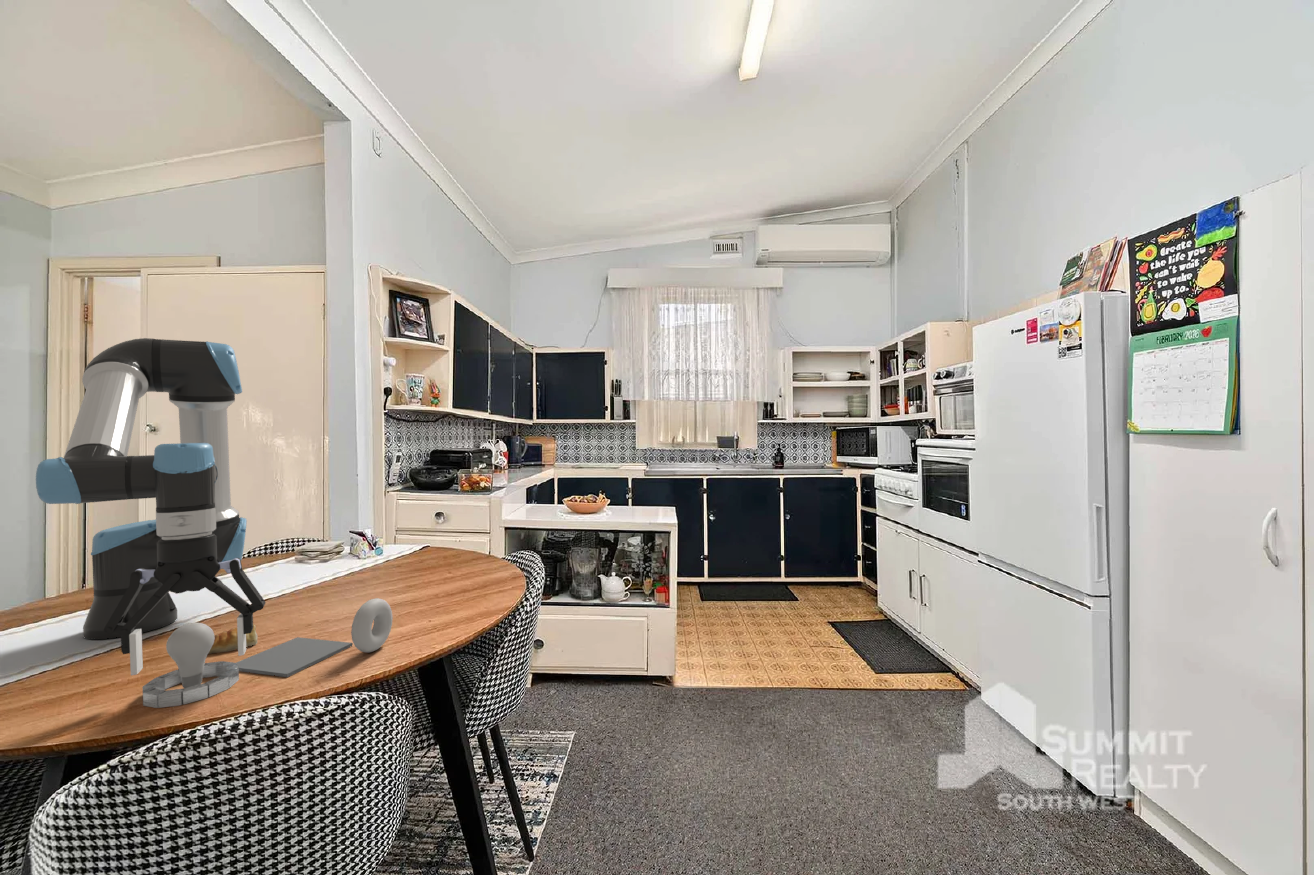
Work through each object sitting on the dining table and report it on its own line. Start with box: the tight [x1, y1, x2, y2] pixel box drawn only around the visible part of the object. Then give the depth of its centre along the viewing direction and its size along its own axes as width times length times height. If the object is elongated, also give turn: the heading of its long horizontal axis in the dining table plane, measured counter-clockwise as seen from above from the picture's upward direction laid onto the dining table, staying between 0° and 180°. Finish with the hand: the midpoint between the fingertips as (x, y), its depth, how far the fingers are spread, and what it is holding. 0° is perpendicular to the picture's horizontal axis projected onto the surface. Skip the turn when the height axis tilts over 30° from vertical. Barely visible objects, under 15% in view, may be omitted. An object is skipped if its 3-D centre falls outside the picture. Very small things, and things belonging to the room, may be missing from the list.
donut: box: [350, 597, 393, 654], centre depth 104 cm, size 10×4×10 cm, turn 173°
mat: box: [235, 636, 354, 678], centre depth 102 cm, size 14×14×1 cm
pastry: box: [207, 623, 258, 655], centre depth 108 cm, size 9×7×4 cm
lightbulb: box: [165, 622, 215, 689], centre depth 90 cm, size 6×6×11 cm
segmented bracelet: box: [142, 660, 240, 709], centre depth 90 cm, size 12×12×2 cm
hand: (191, 662), depth 90 cm, fingers open, 13 cm apart
